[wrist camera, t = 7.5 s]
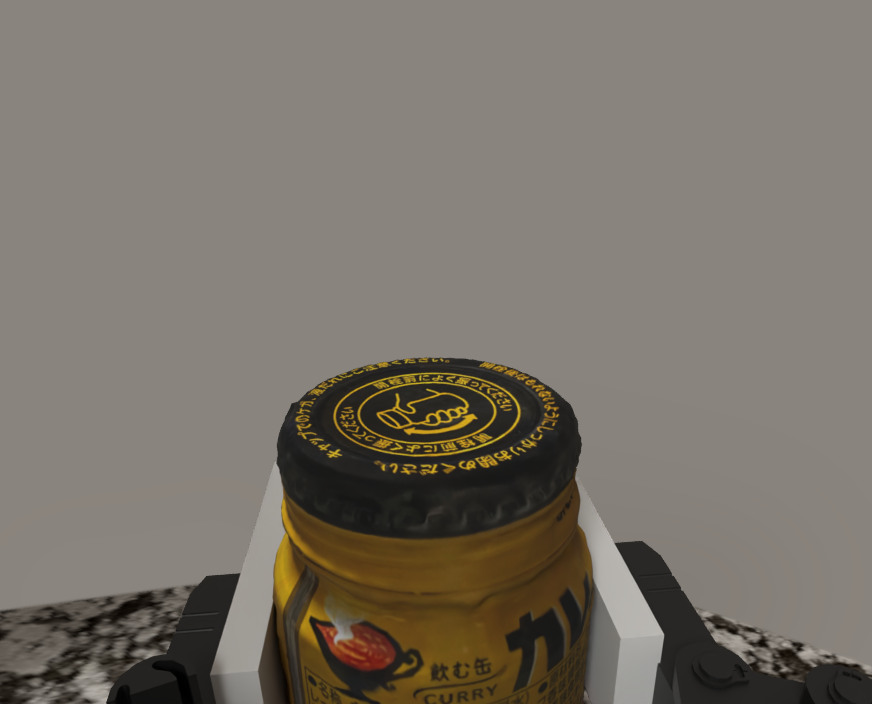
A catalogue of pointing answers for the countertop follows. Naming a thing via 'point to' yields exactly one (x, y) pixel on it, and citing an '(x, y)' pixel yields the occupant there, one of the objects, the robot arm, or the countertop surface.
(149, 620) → the countertop surface
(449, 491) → the condiment
